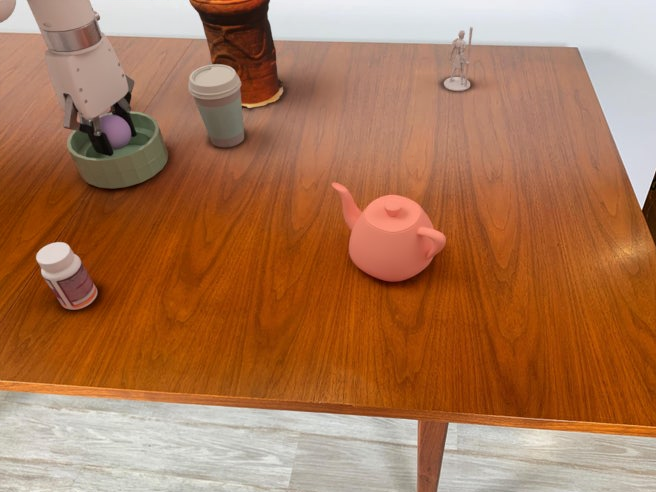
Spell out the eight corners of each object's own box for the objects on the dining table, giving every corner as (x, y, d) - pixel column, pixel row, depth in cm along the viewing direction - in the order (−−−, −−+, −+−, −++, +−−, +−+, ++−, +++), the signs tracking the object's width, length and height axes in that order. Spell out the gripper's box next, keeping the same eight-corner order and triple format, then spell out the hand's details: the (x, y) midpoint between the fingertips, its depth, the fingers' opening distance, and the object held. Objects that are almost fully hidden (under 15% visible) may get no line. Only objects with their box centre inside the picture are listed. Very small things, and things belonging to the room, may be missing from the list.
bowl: (74, 195, 93) (58, 164, 88) (89, 145, 102) (75, 115, 98) (165, 186, 94) (154, 154, 90) (171, 137, 104) (162, 107, 99)
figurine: (475, 84, 116) (482, 24, 107) (457, 94, 113) (463, 32, 104) (456, 75, 118) (461, 15, 109) (438, 84, 116) (442, 23, 107)
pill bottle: (103, 284, 80) (79, 239, 74) (90, 311, 76) (63, 266, 70) (69, 284, 80) (42, 239, 74) (54, 310, 77) (25, 265, 70)
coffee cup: (238, 120, 108) (224, 57, 99) (260, 141, 103) (248, 77, 94) (195, 135, 104) (177, 72, 95) (216, 158, 100) (199, 93, 91)
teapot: (419, 305, 77) (422, 254, 70) (312, 253, 83) (305, 202, 76) (463, 252, 83) (469, 200, 76) (360, 208, 90) (358, 156, 83)
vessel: (198, 103, 112) (169, -5, 97) (233, 69, 121) (212, -35, 106) (266, 115, 109) (246, 5, 94) (297, 79, 118) (284, -27, 103)
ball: (98, 158, 94) (85, 128, 90) (103, 139, 97) (91, 109, 93) (133, 154, 94) (122, 124, 90) (137, 135, 98) (126, 106, 94)
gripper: (92, 6, 88) (132, 113, 102) (4, 55, 78) (61, 167, 91) (133, 13, 86) (167, 122, 100) (48, 65, 76) (99, 178, 89)
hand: (116, 142), depth 95 cm, fingers closed on ball, 5 cm apart
